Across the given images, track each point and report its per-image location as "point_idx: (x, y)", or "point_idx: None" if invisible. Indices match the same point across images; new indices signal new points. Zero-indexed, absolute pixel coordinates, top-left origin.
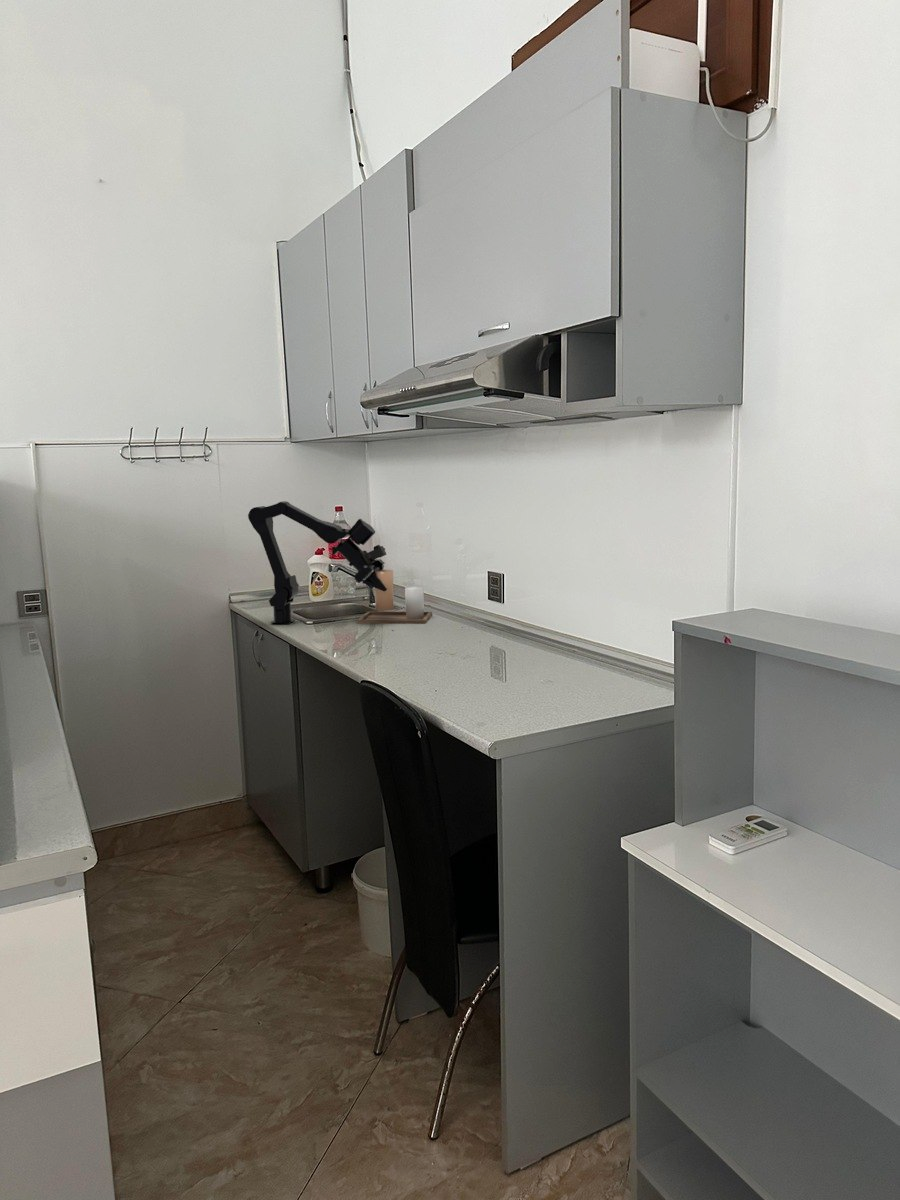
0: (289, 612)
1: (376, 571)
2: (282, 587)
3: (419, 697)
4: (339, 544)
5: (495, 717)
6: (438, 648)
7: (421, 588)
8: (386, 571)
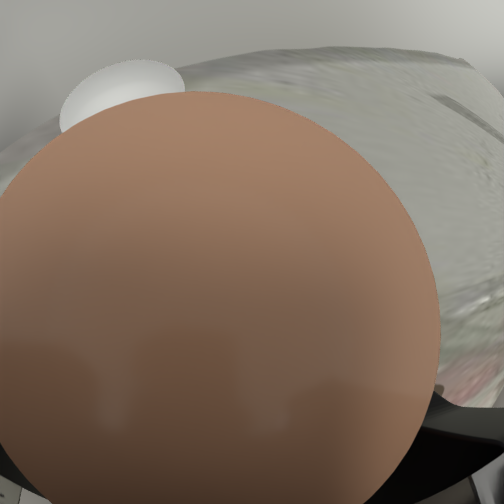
0: None
1: (489, 425)
2: None
3: None
4: None
5: None
6: (472, 173)
7: (164, 65)
8: (335, 237)
